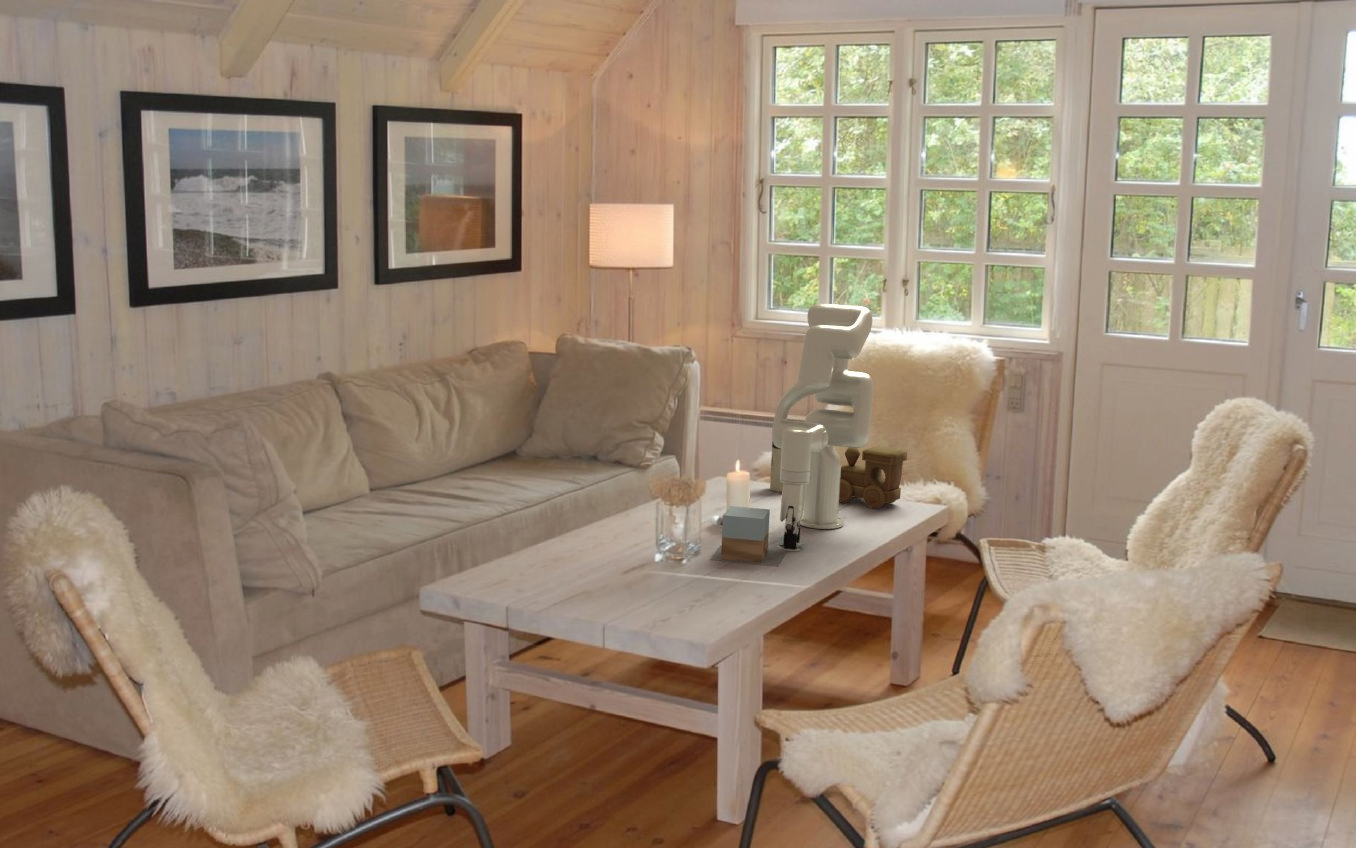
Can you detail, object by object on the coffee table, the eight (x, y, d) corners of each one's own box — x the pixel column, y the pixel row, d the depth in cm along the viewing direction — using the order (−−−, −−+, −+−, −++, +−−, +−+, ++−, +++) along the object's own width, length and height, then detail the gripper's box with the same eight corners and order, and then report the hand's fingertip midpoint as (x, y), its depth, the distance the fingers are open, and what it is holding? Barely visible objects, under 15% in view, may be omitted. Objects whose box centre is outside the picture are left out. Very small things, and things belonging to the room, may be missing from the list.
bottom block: (728, 548, 354) (729, 527, 353) (767, 552, 352) (768, 530, 351) (721, 558, 344) (721, 537, 343) (761, 562, 342) (762, 540, 341)
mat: (720, 547, 356) (720, 545, 356) (786, 553, 353) (786, 551, 353) (709, 562, 343) (709, 560, 343) (778, 568, 339) (778, 566, 339)
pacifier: (796, 555, 352) (808, 549, 357) (797, 531, 351) (809, 525, 356) (771, 549, 356) (783, 544, 361) (772, 526, 355) (784, 520, 360)
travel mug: (799, 488, 425) (802, 430, 421) (792, 494, 417) (795, 434, 414) (774, 485, 427) (777, 427, 424) (766, 491, 420) (769, 432, 417)
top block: (729, 527, 353) (730, 506, 352) (768, 530, 351) (769, 509, 350) (721, 537, 343) (722, 515, 342) (762, 540, 341) (763, 518, 340)
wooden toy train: (905, 505, 408) (909, 449, 405) (887, 512, 399) (891, 455, 396) (844, 494, 419) (847, 440, 416) (826, 501, 410) (829, 445, 407)
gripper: (785, 468, 363) (781, 535, 366) (775, 482, 347) (771, 552, 350) (814, 470, 362) (810, 538, 365) (805, 484, 345) (801, 555, 348)
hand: (791, 544), depth 357 cm, fingers closed on pacifier, 5 cm apart
